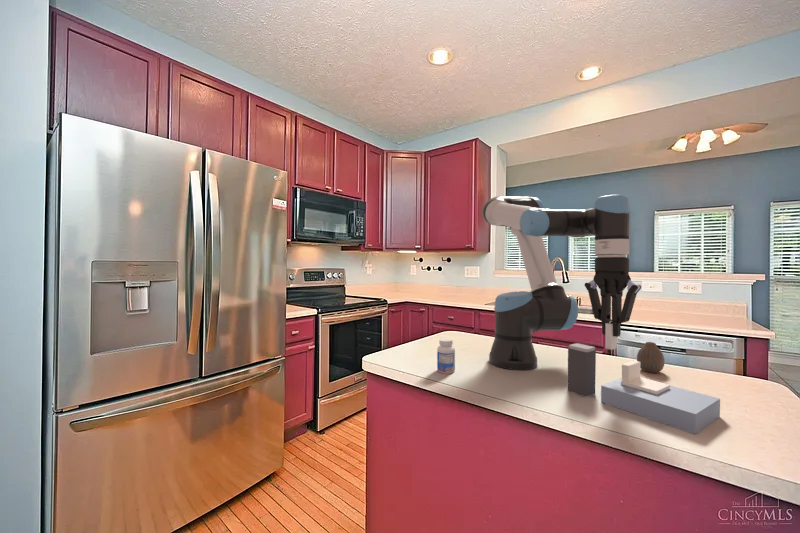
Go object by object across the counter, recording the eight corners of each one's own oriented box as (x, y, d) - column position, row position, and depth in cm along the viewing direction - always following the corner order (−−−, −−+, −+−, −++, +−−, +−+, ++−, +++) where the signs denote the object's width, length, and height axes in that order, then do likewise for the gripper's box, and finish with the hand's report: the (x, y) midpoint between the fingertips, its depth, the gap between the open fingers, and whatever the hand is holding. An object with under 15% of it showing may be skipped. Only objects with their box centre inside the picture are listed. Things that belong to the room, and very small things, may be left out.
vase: (640, 373, 103) (640, 344, 103) (634, 366, 110) (634, 339, 110) (667, 376, 101) (668, 346, 101) (660, 369, 107) (660, 341, 107)
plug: (567, 390, 90) (568, 345, 89) (576, 387, 92) (576, 343, 92) (586, 397, 86) (587, 349, 85) (595, 393, 88) (595, 347, 87)
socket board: (601, 401, 83) (601, 385, 82) (629, 389, 90) (629, 374, 90) (695, 434, 67) (695, 414, 67) (719, 416, 75) (720, 398, 75)
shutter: (620, 384, 83) (620, 364, 83) (634, 378, 87) (634, 360, 87) (656, 394, 77) (657, 373, 77) (669, 388, 80) (670, 368, 80)
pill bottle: (441, 367, 109) (441, 336, 109) (457, 369, 106) (457, 338, 106) (434, 372, 104) (434, 340, 104) (451, 375, 102) (451, 342, 101)
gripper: (578, 256, 91) (578, 345, 91) (632, 255, 80) (632, 356, 80) (593, 257, 95) (593, 341, 95) (647, 256, 84) (646, 351, 84)
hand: (611, 348), depth 88 cm, fingers closed
